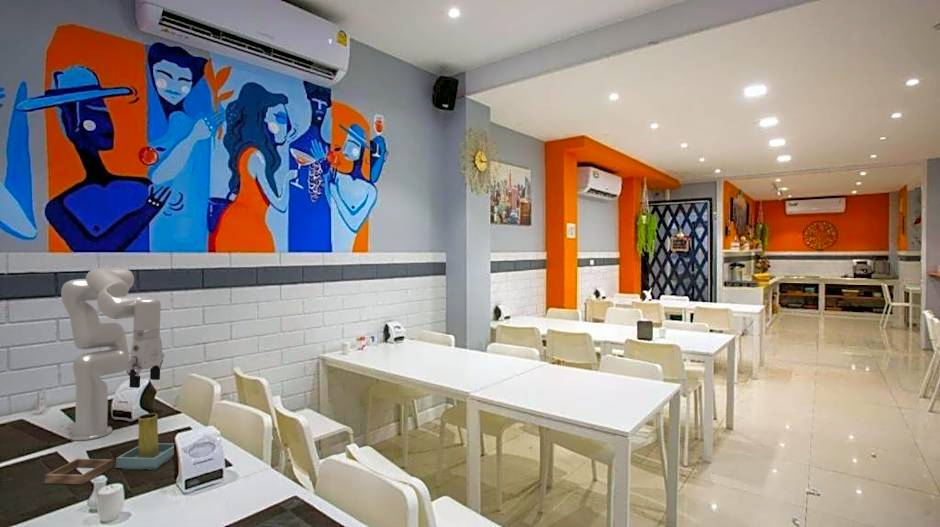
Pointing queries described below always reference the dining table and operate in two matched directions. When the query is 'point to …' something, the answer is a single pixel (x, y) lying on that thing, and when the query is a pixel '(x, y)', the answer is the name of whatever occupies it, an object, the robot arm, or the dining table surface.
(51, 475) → the frame
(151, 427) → the vase
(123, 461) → the tray
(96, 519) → the dining table surface
